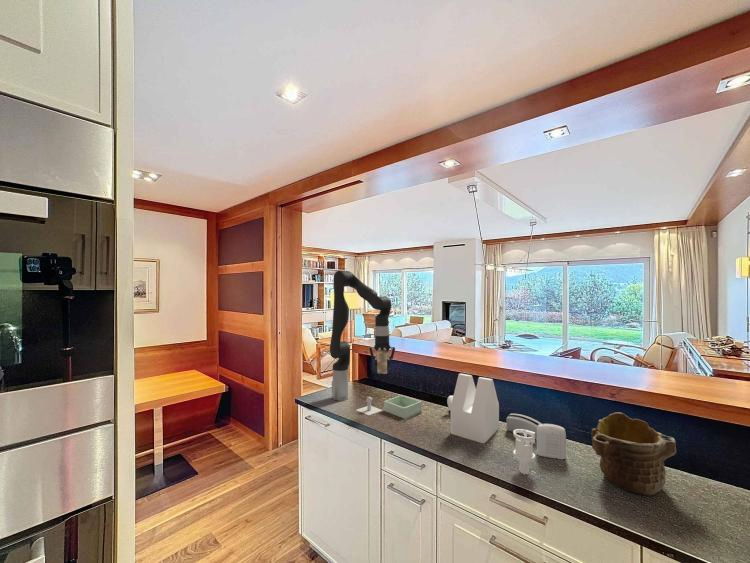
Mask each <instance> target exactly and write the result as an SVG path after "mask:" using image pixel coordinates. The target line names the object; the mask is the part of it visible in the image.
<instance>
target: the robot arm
mask: <svg viewBox="0 0 750 563" xmlns="http://www.w3.org/2000/svg"><path fill="white" fill-rule="evenodd" d="M345 287H350V288H352V289H354V290H355V291H356V292H357V294H358V296H359V297H360V298H361V299H363V300H364V301H365V302H367V303H368V304H369V305H370V307H372V308H373V309H374V310H377V311H379V313H378V314H376V316H375V318H374V319H375V320H374V321H375V327H374V346H370V347H369V353H370V357H371V359H372V360H374V366H375V367H376V368H377V353H376V354H375V355H374V350H375V351H376V352H377V350H387V368H389V367H390V361H391V360H393V359H394V355H395V350H396V347H395V346H391V345H390V326H389V324H390V323H389V322H390V321H389V317H390V313H391V308H392V301H391V298H390V297H389V296H378V292H377V291H375V290H374V289H372V288H371V287H369V286H368V285H366V284H365V283H363V282H362V281H361V280H360V279H359V278H358V277H357V276H356V275H355V274H354V273H353V272H351V271H349V270H337V271H335V273H334V275H333V312H332V330H331V337H330V344H329V353H330V356H331V358H332V359H337V360H336V361H335V362H334V363H333V364H332V381H331V398H332V400H334V401H338V402H340V401H342V402H343V401H346V400H348V399H349V365H350V360H351V359H350V358H351V346H350V344H349V343H348V341H345V340H344V341H341V338H342V334H343V332H344V331H345V328H346V327H347V325H348V322H349V320H350V319H349V318H350V307H349V305H348V303H347V300H346V299H345V295H344V294H345V293H344V288H345ZM389 350H390V352H391V353H390V354H389V353H388V352H389ZM389 355H390V356H389Z"/></svg>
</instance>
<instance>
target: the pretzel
mask: <svg viewBox="0 0 750 563" xmlns="http://www.w3.org/2000/svg"><path fill="white" fill-rule="evenodd" d="M453 396H454V394H453V395H449V396H448V397H447V400H446V402H447V407H448V409H449V410H450V412H451V404H452V400H453Z"/></svg>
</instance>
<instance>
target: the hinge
mask: <svg viewBox="0 0 750 563" xmlns="http://www.w3.org/2000/svg"><path fill="white" fill-rule="evenodd" d="M540 424H543V423H542V422H540V421H539V420H537V419H535V418H533V417H530V416H527V415H524V414H519V413H510V414H508V416H507V417H506V430H507V431H509V432H512V433H513V431H514V430H516V429H524V430H529V431H532V432H535V439H537V428H538V425H540ZM520 434H522V435H521V436H523V435H524V433H519V434H518V435H520ZM527 436H528V437H532V436H531V435H529V434H527Z"/></svg>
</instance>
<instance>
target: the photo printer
mask: <svg viewBox="0 0 750 563" xmlns="http://www.w3.org/2000/svg"><path fill="white" fill-rule="evenodd" d="M566 445H567V434H566V429H565V428H564V427H562V426H561V425H557V424H552V423H542V424H540V425H538V428H537V440H536V455H537V454H538V456H540V457H545V458H551V459H556V458H557V459H558V460H563V459H565V460H566V458H567V457H566V456H567V455H566V454H567V452H566V450H567V446H566Z"/></svg>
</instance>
